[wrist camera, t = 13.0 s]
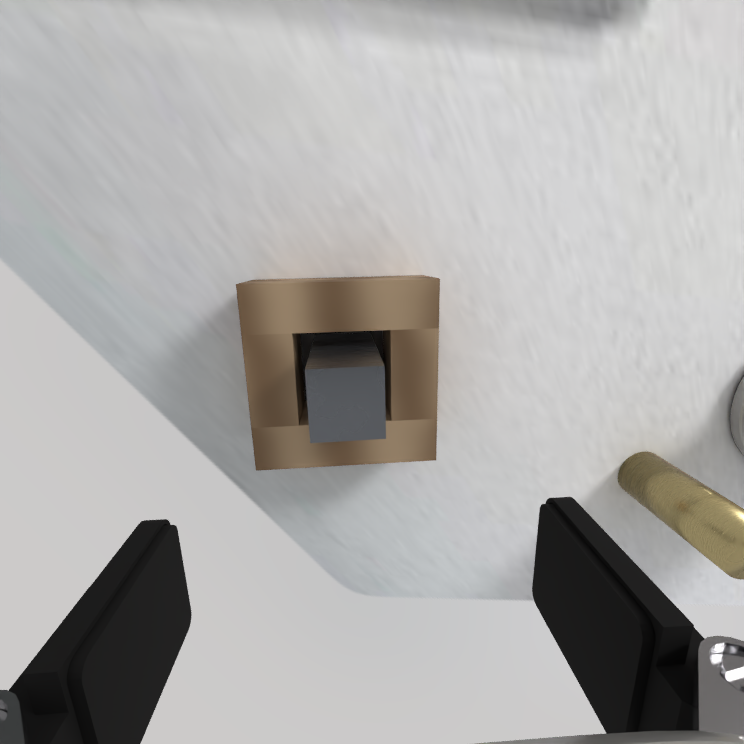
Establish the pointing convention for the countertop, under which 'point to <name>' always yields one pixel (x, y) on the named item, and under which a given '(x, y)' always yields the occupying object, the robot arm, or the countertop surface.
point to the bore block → (340, 314)
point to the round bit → (688, 509)
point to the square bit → (345, 388)
